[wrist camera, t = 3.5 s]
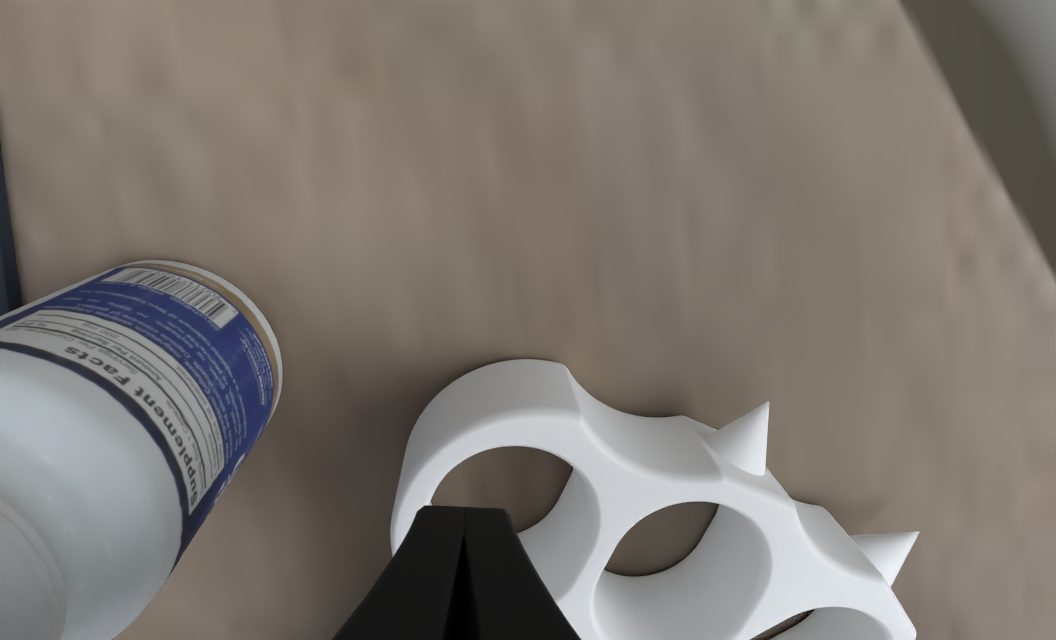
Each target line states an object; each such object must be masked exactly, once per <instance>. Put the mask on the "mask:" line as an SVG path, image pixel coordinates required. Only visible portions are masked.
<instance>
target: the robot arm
mask: <svg viewBox="0 0 1056 640" xmlns="http://www.w3.org/2000/svg"><path fill="white" fill-rule="evenodd" d="M332 640H581V638H580V637H579V636H578V634H577V633H576V631H575V630H574V629H573V627H572V626H571V624H570V623H569V622H568V620H567V619H566V617H565V616H564V614H563V613H562V611H561V610H560V608H559V607H558V605H557V604H556V602H555V601H554V599H553V597H552V596H551V594H550V592H549V591H548V589H547V588H546V586H545V584H544V583H543V581H542V579H541V578H540V576H539V574H538V573H537V571H536V569H535V567H534V566H533V564H532V562H531V560H530V558H529V556H528V554H527V553H526V551H525V549H524V547H523V545H522V543H521V541H520V539H519V537H518V534H517V532H516V530H515V528H514V525H513V523H512V520H511V517H510V515H509V514H508V513H507V512H506V511H505V510H504V509H499V508H476V507H454V506H431V505H424V506H423V507H422V508H421V509H419V510H418V511H417V513H416V515H415V518H414V520H413V522H412V525H411V527H410V529H409V531H408V533H407V534H406V536H405V538H404V540H403V542H402V543H401V545H400V547H399V548H398V550H397V551H396V553H395V555H394V556H393V558H392V560H391V561H390V563H389V564H388V565H387V567H386V568H385V570H384V571H383V573H382V574H381V576H380V577H379V579H378V580H377V582H376V583H375V585H374V586H373V588H372V589H371V590H370V592H369V593H368V594H367V596H366V597H365V598H364V600H363V601H362V602H361V603H360V605H359V606H358V607H357V609H356V610H355V611H354V612H353V614H352V615H351V616H350V617H349V619H348V620H347V621H346V623H345V624H344V625H343V626H342V628H341V629H340V630H339V631H338V633H337V634H336V635H335V636H334V637H333V638H332Z"/></svg>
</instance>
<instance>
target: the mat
mask: <svg viewBox="0 0 1056 640" xmlns="http://www.w3.org/2000/svg"><path fill="white" fill-rule="evenodd" d="M20 307H21V299H20V291H19V283H18V276H17V268H16V260H15V253H14V245H13V237H12V230H11V222H10V214H9V207H8V199H7V191H6V184H5V176H4V168H3V161H2V153H1V145H0V316H2V315H4V314H7V313H9V312H11V311H14V310H16V309H18V308H20Z"/></svg>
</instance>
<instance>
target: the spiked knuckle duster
mask: <svg viewBox="0 0 1056 640" xmlns="http://www.w3.org/2000/svg"><path fill="white" fill-rule="evenodd" d="M768 415H769V401H768V402H766V403H764V404H763V405H761V406H759V407H757V408H756V409H754V410H752V411H750V412H748V413H747V414H745V415H743V416H741V417H740V418H738V419H736V420H734V421H733V422H731V423H729V424H727V425H726V426H724V427H722V428H720V429H719V430H716V429H714V428H712V427H709V426H707V425H705V424H703V423H700V422H698V421H696V420H693V419H691V418H689V417H686V416H684V415H679V416H672V417H642V416H636V415H631V414H627V413H624V412H621V411H618V410H615V409H613V408H611V407H609V406H607V405H605V404H603V403H601V402H600V401H598V400H597V399H595V398H594V397H592V396H591V395H590V394H589V393H587V392H586V391H585V390H584V389H583V388H582V387H581V386H580V385H579V384H578V383H577V381H576V380H575V379H574V378H573V376H572V375H571V373H570V372H569V370H568V369H567V367H566V366H565V365H563V364H560V363H556V362H551V361H545V360H536V359H518V360H508V361H502V362H497V363H494V364H490V365H487V366H484V367H481V368H478V369H476V370H474V371H471V372H469V373H467V374H465V375H463V376H462V377H460V378H458V379H457V380H455V381H454V382H452V383H451V384H449V385H448V386H447V387H445V388H444V389H443V390H442V391H441V392H440V393H439V394H437V396H436V397H435V398H434V399H433V400H432V401H431V402H430V403H429V404H428V405H427V407H426V408H425V409H424V411H423V412H422V414H421V415H420V417H419V418H418V420H417V422H416V424H415V426H414V428H413V430H412V432H411V434H410V437H409V440H408V443H407V447H406V451H405V455H404V460H403V465H402V469H401V474H400V479H399V484H398V488H397V493H396V498H395V502H394V507H393V512H392V518H391V528H390V539H391V550H392V556H394V555H395V553H396V551H397V550H398V548H399V547H400V545H401V543H402V542H403V540H404V538H405V536H406V534H407V533H408V531H409V529H410V527H411V525H412V522H413V520H414V518H415V515H416V513H417V511H418V510H419V509H421V508H422V507H423V506H424V505H431V506H433V505H432V503H431V499H432V496H433V494H434V492H435V490H436V488H437V486H438V485H439V483H440V482H441V480H442V479H443V478H444V477H445V475H446V474H447V473H448V472H449V471H450V470H451V469H452V468H454V467H455V466H456V465H457V464H459V463H460V462H462V461H463V460H465V459H467V458H468V457H470V456H472V455H474V454H477V453H479V452H482V451H485V450H488V449H492V448H497V447H503V446H526V447H533V448H537V449H541V450H544V451H547V452H550V453H552V454H554V455H556V456H558V457H560V458H562V459H563V460H565V461H566V462H568V463H569V464H570V465H571V466H572V467H573V471H572V474H571V476H570V478H569V480H568V482H567V484H566V486H565V488H564V490H563V492H562V494H561V496H560V498H559V500H558V501H557V503H556V505H555V506H554V508H553V509H552V510H551V512H550V513H549V514H548V515H547V516H546V517H545V518H544V519H542V520H541V521H540V522H539V523H537V524H536V525H534V526H532V527H531V528H529V529H527V530H524V531H522V532H519V533H517V534H518V537H519V539H520V541H521V543H522V545H523V547H524V549H525V551H526V553H527V554H528V556H529V558H530V560H531V562H532V564H533V566H534V567H535V569H536V571H537V573H538V574H539V576H540V578H541V579H542V581H543V583H544V584H545V586H546V588H547V589H548V591H549V592H550V594H551V596H552V597H553V599H554V601H555V602H556V604H557V605H558V607H559V608H560V610H561V611H562V613H563V614H564V616H565V617H566V619H567V620H568V622H569V623H570V624H571V626H572V627H573V629H574V630H575V631H576V633H577V634H578V636H579V637H580V638H581V640H750V639H752V638H753V637H755V636H757V635H758V634H760V633H762V632H764V631H766V630H767V629H769V628H771V627H773V626H775V625H777V624H778V623H780V622H782V621H784V620H786V619H788V618H790V617H792V616H794V615H796V614H799V613H801V612H804V611H808V610H811V609H815V610H814V611H813V612H812V613H811V614H810V615H809V616H808V617H807V618H805V619H804V620H803V621H802V622H800V623H799V624H797V625H795V626H794V627H792V628H790V629H788V630H786V631H784V632H782V633H781V634H779V635H777V636H775V637H773V638H771V639H769V640H915V638H916V630H915V628H914V626H913V624H912V623H911V621H910V619H909V618H908V616H907V614H906V613H905V611H904V609H903V608H902V606H901V604H900V603H899V601H898V600H897V598H896V596H895V595H894V593H893V591H892V590H891V588H890V587H891V585H892V583H893V581H894V579H895V578H896V576H897V574H898V572H899V570H900V568H901V566H902V564H903V562H904V561H905V559H906V557H907V555H908V553H909V551H910V549H911V547H912V545H913V543H914V542H915V540H916V538H917V536H918V534H919V532H920V531H918V532H901V533H885V534H868V535H852V536H848V534H847V533H846V532H845V531H844V530H843V529H842V527H841V526H840V525H839V524H838V523H837V522H836V521H835V519H834V518H833V517H832V516H831V515H830V514H829V512H828V511H827V510H826V509H825V508H823V507H822V506H817V505H811V504H806V503H802V502H799V501H796V500H793V499H791V498H790V496H789V495H788V494H787V493H786V491H785V490H784V489H783V488H782V486H781V485H780V484H779V483H778V481H777V480H776V479H775V478H774V477H773V475H772V474H771V473H770V472H769V470H768V469H767V468H766V467H765V462H766V446H767V430H768ZM692 501H703V502H712V503H717V504H719V507H718V509H717V512H716V514H715V516H714V518H713V520H712V522H711V523H710V525H709V527H708V528H707V530H706V532H705V534H704V535H703V537H702V539H701V540H700V542H699V544H698V545H697V546H696V548H695V549H694V550H693V551H692V552H691V553H690V554H689V555H688V556H687V557H686V558H685V559H684V560H682V561H681V562H680V563H678V564H677V565H675V566H673V567H671V568H669V569H667V570H665V571H662V572H660V573H656V574H653V575H648V576H639V577H630V576H622V575H617V574H614V573H611V572H608V571H606V570H604V568H605V566H606V564H607V562H608V560H609V558H610V557H611V555H612V553H613V551H614V549H615V547H616V546H617V544H618V542H619V541H620V540H621V538H622V537H623V536H624V534H625V533H626V532H627V531H628V530H629V529H630V528H631V527H632V526H633V525H635V524H636V523H637V522H638V521H640V520H641V519H642V518H644V517H645V516H647V515H649V514H651V513H652V512H654V511H657V510H659V509H661V508H664V507H667V506H670V505H673V504H677V503H683V502H692Z"/></svg>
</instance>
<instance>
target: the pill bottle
mask: <svg viewBox="0 0 1056 640" xmlns="http://www.w3.org/2000/svg"><path fill="white" fill-rule="evenodd" d="M281 389H282V359H281V354H280V350H279V346H278V343H277V340H276V337H275V335H274V333H273V331H272V329H271V327H270V325H269V323H268V322H267V320H266V319H265V317H264V316H263V314H262V313H261V312H260V310H259V309H258V308H257V307H256V306H255V304H254V303H253V302H252V301H251V300H250V299H249V298H248V297H247V296H246V295H245V294H244V293H243V292H242V291H240V290H239V289H238V288H237V287H235V286H234V285H233V284H231V283H229V282H227V281H226V280H224V279H223V278H221V277H219V276H217V275H215V274H213V273H211V272H209V271H206V270H204V269H201V268H198V267H195V266H192V265H189V264H184V263H180V262H175V261H164V260H142V261H137V262H132V263H127V264H124V265H121V266H117V267H114V268H112V269H109V270H107V271H104V272H102V273H99V274H97V275H94V276H92V277H89V278H87V279H85V280H83V281H80V282H78V283H75V284H73V285H70V286H67V287H66V288H63V289H61V290H59V291H56V292H54V293H52V294H50V295H47V296H45V297H42V298H40V299H38V300H36V301H34V302H31V303H29V304H27V305H24V306H22V307H20V308H18V309H16V310H14V311H11V312H9V313H7V314H4V315H2V316H0V640H112V639H113V638H114V637H116V636H117V635H119V634H120V633H121V632H122V631H123V630H124V629H126V628H127V627H128V626H129V625H130V624H131V623H132V622H133V621H134V620H135V619H136V618H137V617H138V616H139V615H140V614H141V612H142V611H143V610H144V609H145V608H146V606H147V605H148V604H149V603H150V601H151V600H152V599H153V597H154V596H155V595H156V594H157V593H158V591H159V590H160V589H161V587H162V586H163V584H164V583H165V581H166V580H167V578H168V577H169V575H170V574H171V572H172V571H173V569H174V568H175V566H176V564H177V563H178V561H179V559H180V557H181V556H182V554H183V552H184V551H185V549H186V548H187V546H188V545H189V543H190V542H191V540H192V538H193V537H194V535H195V534H196V532H197V531H198V529H199V528H200V526H201V525H202V523H203V522H204V520H205V519H206V518H207V516H208V515H209V513H210V512H211V511H212V509H213V507H214V505H215V504H216V502H217V500H218V499H219V497H220V496H221V494H222V493H223V491H224V490H225V488H226V487H227V485H228V484H229V483H230V481H231V480H232V478H233V477H234V475H235V474H236V472H237V470H238V469H239V467H240V465H241V464H242V463H243V461H244V460H245V458H246V457H247V455H248V454H249V452H250V451H251V449H252V448H253V446H254V445H255V443H256V442H257V440H258V439H259V437H260V436H261V434H262V432H263V431H264V429H265V427H266V426H267V424H268V422H269V421H270V419H271V417H272V415H273V413H274V411H275V409H276V406H277V404H278V401H279V397H280V393H281Z"/></svg>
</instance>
